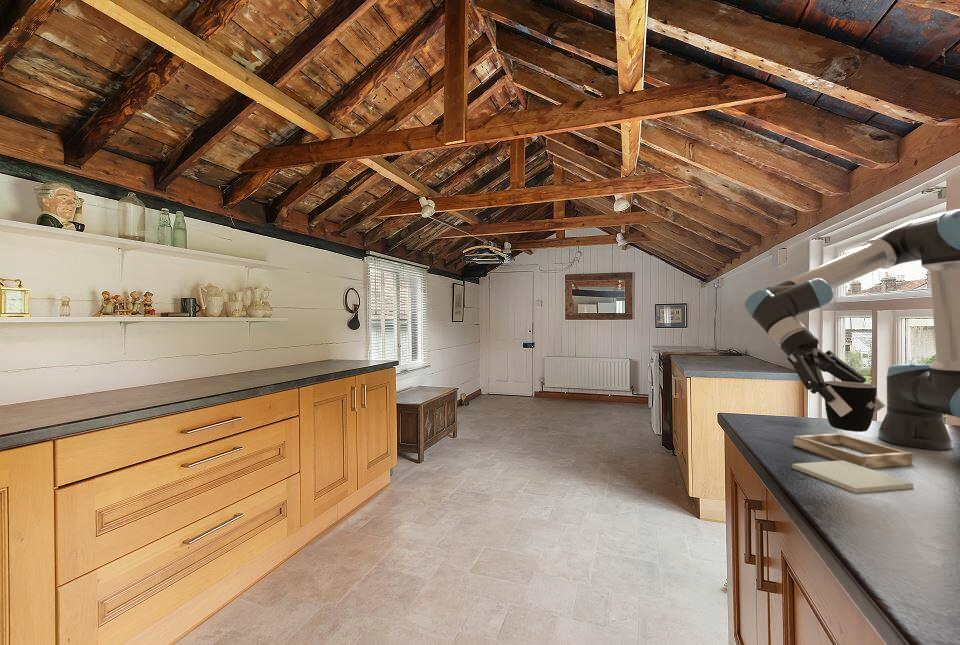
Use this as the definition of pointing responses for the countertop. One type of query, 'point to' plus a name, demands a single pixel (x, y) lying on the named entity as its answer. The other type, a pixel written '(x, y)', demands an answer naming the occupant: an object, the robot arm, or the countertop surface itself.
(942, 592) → the countertop surface
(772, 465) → the countertop surface
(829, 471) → the tile
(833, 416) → the mug
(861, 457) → the rectangular wooden frame
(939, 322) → the robot arm
